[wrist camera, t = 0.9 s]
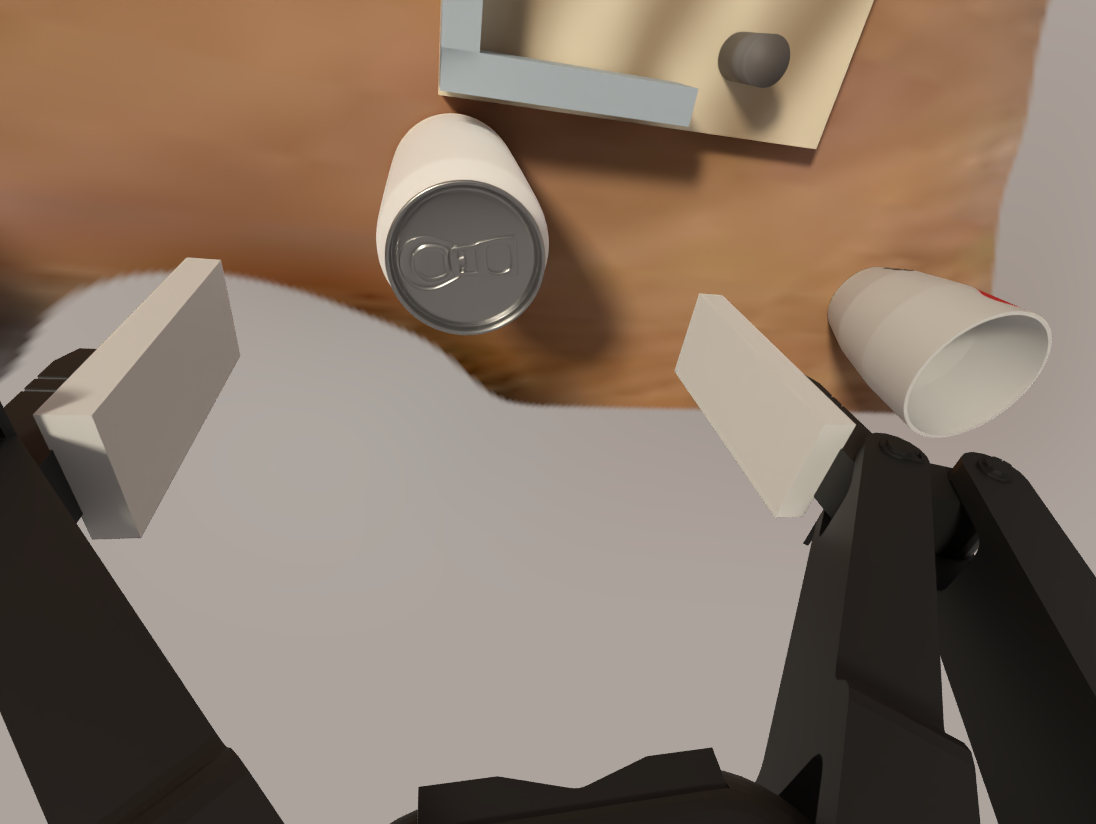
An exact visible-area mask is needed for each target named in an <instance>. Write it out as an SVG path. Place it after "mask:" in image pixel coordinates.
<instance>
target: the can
mask: <svg viewBox="0 0 1096 824" xmlns="http://www.w3.org/2000/svg"><path fill="white" fill-rule="evenodd" d="M376 243H377V252H378V257H379V261H380V265H381V267H382V270H383V273H384V275H385V277H386V279H387V281H388V282H389V284H390V286H391V287H392V289H393V291H394V293H395V295H396V296H397V298H398V299H399V301H400V302H401V303H402V305H403V306H404V307H405V308H406V309H407V310H408V311H409V312H410V313H411V314H412V315H413V316H414V317H416V318H417V319H418V320H420V321H421V322H423V323H425V324H426V325H428V326H430V327H432V328H435V329H437V330H440V331H443V332H447V333H451V334H458V335H476V334H483V333H487V332H491V331H494V330H497V329H499V328H501V327H503V326H505V325H507V324H509V323H510V322H512V321H513V320H515V319H516V318H517V317H519V316H520V315H521V314H522V313H523V312H524V311H525V310H526V309H527V308H528V307H529V305H530V304H531V303H532V301H533V300H534V298H535V296H536V295H537V293H538V291H539V289H540V286H541V283H542V280H543V276H544V271H545V267H546V263H547V259H548V251H549V238H548V230H547V225H546V221H545V217H544V214H543V211H542V209H541V207H540V204H539V202H538V200H537V198H536V196H535V194H534V192H533V191H532V189H531V187H530V185H529V183H528V182H527V180H526V178H525V176H524V174H523V173H522V171H521V169H520V167H519V166H518V164H517V162H516V160H515V159H514V157H513V155H512V154H511V152H510V150H509V149H508V147H507V146H506V144H505V143H504V141H503V140H502V139H501V138H500V136H499V135H498V134H497V133H496V132H495V131H494V130H493V129H491V128H490V127H489V126H487V125H486V124H485V123H483V122H481V121H479V120H477V119H475V118H473V117H470V116H467V115H462V114H455V113H446V114H439V115H435V116H432V117H429V118H427V119H424V120H423V121H421V122H419V123H418V124H416V125H415V126H414V127H413V128H411V129H410V130H409V131H408V132H407V134H406V135H405V136H404V137H403V139H402V140H401V142H400V144H399V145H398V147H397V150H396V152H395V155H394V158H393V161H392V164H391V168H390V171H389V175H388V179H387V183H386V187H385V191H384V195H383V199H382V203H381V207H380V212H379V216H378V222H377V231H376Z"/></svg>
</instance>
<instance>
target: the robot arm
mask: <svg viewBox="0 0 1096 824" xmlns="http://www.w3.org/2000/svg"><path fill="white" fill-rule="evenodd" d="M239 357H240V352H239V347H238V343H237V337H236V332H235V328H234V322H233V317H232V312H231V307H230V303H229V298H228V293H227V287H226V282H225V277H224V272H223V267H222V262H221V260H214V259H200V258H186V259H185V260H184V261H183V262H182V263H181V264H180V265H179V266H178V267H177V268H176V269H175V270H174V271H173V272H172V273H171V274H170V275H169V276H168V277H167V278H166V279H165V280H164V281H163V282H162V283H161V284H160V285H159V286H158V287H157V288H156V289H155V291H154V292H153V293H151V294H150V296H149V297H148V298H147V299H146V300H145V301H144V302H143V303H142V304H141V305H140V306H139V307H138V308H137V309H136V310H135V311H134V312H133V313H132V314H131V315H130V316H129V317H128V318H127V319H126V320H125V321H124V322H123V323H122V324H121V325H120V326H119V327H118V328H117V329H116V330H115V331H114V332H113V333H112V335H110V336H109V338H107V339H106V340H105V342H103V343H102V345H101V346H100V347H99V348H98V349H82V348H80V349H77V350H75V351H73V352H71V353H69V354H67V355H65V356H63V357H61V358H59V359H57V360H55V361H53V362H52V363H51V364H50V365H49V366H48V367H47V368H46V369H45V370H44V371H42V372H41V373H40V374H39V375H38V379H34V380H33V381H32V382H31V383H30V384H28V385H27V386H26V387H25V391H24V392H23V391H21V392H20V393H19V394H18V395H17V396H16V397H15V398H14V399H12V400H11V401H10V402H9V403H8V404H7V405H6V406H5V407H4V408H3V406H2V404H1V402H0V712H1V715H2V717H3V719H4V722H5V724H6V726H7V729H8V731H9V733H10V736H11V738H12V741H13V743H14V745H15V747H16V750H17V752H18V754H19V757H20V759H21V762H22V764H23V766H24V769H25V771H26V773H27V776H28V778H29V780H30V783H31V785H32V787H33V789H34V792H35V794H36V797H37V799H38V801H39V804H40V806H41V809H42V811H43V813H44V816H45V818H46V820H47V822H48V824H284V823H283V821H282V820H281V818H280V817H279V815H278V814H277V812H276V811H275V809H274V808H273V806H272V805H271V803H270V802H269V800H268V799H267V797H266V796H265V794H264V793H263V792H262V790H261V789H260V787H259V785H258V784H257V782H256V781H255V780H254V778H253V777H252V775H251V774H250V772H249V771H248V769H247V768H246V767H245V765H244V764H243V762H242V761H241V759H240V758H239V757H238V756H237V754H236V753H235V752H234V751H233V750H232V749H231V748H228V747H226V746H225V745H224V743H223V742H222V741H221V739H220V738H219V737H218V735H217V734H216V732H215V731H214V729H213V728H212V726H211V725H210V723H209V722H208V720H207V719H206V717H205V716H204V714H203V713H202V711H201V710H200V708H199V707H198V705H197V704H196V702H195V701H194V699H193V698H192V696H191V695H190V693H189V692H188V690H187V689H186V688H185V686H184V684H183V683H182V681H181V680H180V678H179V677H178V675H177V674H176V672H175V671H174V669H173V668H172V666H171V665H170V663H169V662H168V661H167V659H166V657H165V656H164V654H163V653H162V651H161V650H160V648H159V647H158V646H157V644H156V642H155V641H154V639H153V638H152V636H151V635H150V633H149V632H148V630H147V629H146V627H145V626H144V624H143V623H142V621H141V620H140V618H139V617H138V615H137V614H136V613H135V611H134V609H133V608H132V606H131V605H130V603H129V602H128V600H127V599H126V597H125V596H124V594H123V593H122V591H121V590H120V588H119V587H118V585H117V584H116V582H115V581H114V579H113V578H112V576H111V575H110V573H109V572H108V570H107V569H106V567H105V566H104V564H103V563H102V561H101V560H100V558H99V557H98V555H97V554H96V552H95V551H94V549H93V548H92V546H91V545H90V543H89V542H88V540H87V539H86V537H85V536H84V534H83V533H82V531H81V530H80V528H79V527H78V525H77V524H76V523H77V522H78V520H79V519H80V518H81V517H82V519H83V521H84V523H85V525H86V527H87V529H88V532H89V534H90V536H91V538H92V539H117V538H118V539H120V538H141V537H142V535H143V533H144V531H145V530H146V528H147V526H148V524H149V522H150V520H151V519H152V517H153V515H154V513H155V511H156V509H157V507H158V506H159V504H160V502H161V500H162V498H163V496H164V495H165V493H166V491H167V489H168V487H169V485H170V484H171V482H172V480H173V478H174V476H175V475H176V472H177V471H178V469H179V467H180V465H181V464H182V462H183V460H184V458H185V456H186V454H187V452H188V451H189V449H190V447H191V445H192V443H193V442H194V440H195V438H196V436H197V434H198V432H199V431H200V429H201V427H202V425H203V423H204V421H205V419H206V418H207V415H208V414H209V412H210V410H211V408H212V406H213V404H214V403H215V401H216V399H217V397H218V396H219V394H220V392H221V390H222V388H223V386H224V385H225V383H226V381H227V379H228V377H229V375H230V374H231V372H232V370H233V368H234V366H235V364H236V363H237V361H238V359H239ZM675 372H676V374H677V375H678V377H679V378H680V380H681V381H682V383H683V384H684V386H685V387H686V389H687V390H688V391H689V393H690V394H691V396H692V397H693V399H694V400H695V402H696V403H697V405H698V406H699V408H700V409H701V410H702V412H703V413H704V415H705V416H706V418H707V419H708V421H709V422H710V424H711V425H712V427H713V428H714V429H715V431H716V432H717V433H718V435H719V437H720V438H721V440H722V441H723V443H724V444H725V446H726V447H727V449H728V450H729V451H730V453H731V454H732V456H733V457H734V459H735V460H736V462H737V463H738V464H739V466H740V468H741V469H742V470H743V472H744V473H745V475H746V476H747V478H748V479H749V480H750V482H751V484H752V485H753V487H754V488H755V489H756V491H757V492H758V494H759V495H760V497H761V498H762V500H763V501H764V503H765V504H766V506H767V507H768V508H769V510H770V511H771V512H772V514H773V516H774V517H775V518H782V517H783V518H784V517H785V518H786V517H803V516H804V515H805V513H806V511H807V509H808V508H809V506H810V504H811V502H812V501H813V499H814V498H815V499H816V500H817V501H818V503H819V504H820V505H821V506H822V508H823V511H822V513H821V514H820V516H819V518H818V520H817V521H816V523H815V525H814V526H813V528H812V530H811V531H810V533H809V535H808V536H807V538H806V540H805V541H804V544H806V545H809V544H810V542H811V541H812V544H811V548H810V553H809V557H808V562H807V567H806V571H805V575H804V580H803V584H802V589H801V593H800V598H799V602H798V607H797V612H796V616H795V620H794V625H793V630H792V634H791V639H790V643H789V648H788V652H787V657H786V661H785V666H784V670H783V675H782V679H781V684H780V688H779V693H778V697H777V702H776V706H775V711H774V715H773V721H772V725H771V729H770V733H769V738H768V743H767V747H766V752H765V756H764V760H763V764H762V767H761V770H760V773H759V776H758V778H757V780H756V782H753V781H750V780H748V779H746V778H743V777H742V776H738V775H735V774H732V773H729V772H726V771H721V770H720V767H719V764H718V762H717V759H716V757H715V754H714V751H713V749H712V748H705V749H698V750H691V751H683V752H676V753H668V754H661V755H653V756H647V757H644V758H642V759H641V760H638V761H636V762H634V763H632V764H630V765H628V766H626V767H624V768H622V769H620V770H618V771H616V772H614V773H612V774H610V775H608V776H606V777H604V778H602V779H600V780H597V781H596V782H593V783H591V784H589V785H587V786H585V787H582V788H566V787H560V786H554V785H548V784H541V783H535V782H529V781H523V780H516V779H510V778H504V777H489V778H482V779H475V780H467V781H460V782H453V783H446V784H437V785H430V786H423V787H419V791H418V792H419V793H418V810H415V811H413V812H411V813H409V814H407V815H405V816H403V817H401V818H398V819H397V820H395V821H394V822H392V823H390V824H980V815H979V805H978V795H977V784H976V773H975V766H974V761H973V757H972V753H971V751H970V750H969V749H968V747H967V746H966V745H965V743H963V742H961V741H960V740H958V739H956V738H954V737H952V736H950V735H948V734H946V733H945V731H944V723H943V722H944V721H943V702H942V683H941V664H940V656H941V659H942V662H943V665H944V668H945V670H946V673H947V676H948V679H949V682H950V685H951V688H952V691H953V693H954V697H955V699H956V702H957V705H958V708H959V711H960V714H961V717H962V719H963V723H964V726H965V728H966V731H967V734H968V737H969V740H970V743H971V746H972V749H973V752H974V755H975V757H976V760H977V763H978V766H979V769H980V772H981V775H982V778H983V781H984V784H985V786H986V789H987V792H988V795H989V798H990V801H991V804H992V807H993V809H994V813H995V815H996V818H997V821H998V824H1096V577H1095V575H1094V574H1093V573H1092V571H1091V570H1090V568H1089V567H1088V565H1087V564H1086V563H1085V561H1084V560H1083V558H1082V557H1081V555H1080V554H1079V553H1078V551H1077V550H1076V548H1075V547H1074V545H1073V544H1072V543H1071V541H1070V540H1069V538H1068V537H1067V535H1066V534H1065V533H1064V531H1063V530H1062V528H1061V527H1060V525H1059V524H1058V523H1057V521H1056V520H1055V518H1054V517H1053V515H1052V514H1051V513H1050V511H1049V510H1048V508H1047V507H1046V505H1045V504H1044V503H1043V501H1042V500H1041V498H1040V497H1039V496H1038V494H1037V493H1036V491H1035V490H1034V489H1033V487H1032V486H1031V484H1030V483H1029V481H1028V480H1027V479H1026V478H1025V477H1024V476H1023V475H1022V474H1021V473H1020V472H1019V471H1017V470H1016V469H1015V468H1013V467H1012V465H1011V464H1009V463H1007V462H1005V461H1002V459H999V458H997V457H991V456H988V455H985V454H981V453H975V452H969V453H965V454H963V456H962V457H961V458H960V459H959V461H958V462H957V463H956V465H955V466H954V467H953V468H949V467H944V466H940V465H935V464H930V463H929V460H928V458H927V456H926V455H925V454H924V453H923V452H922V451H921V450H920V449H918V448H917V447H915V446H914V445H912V444H911V443H910V442H907V441H905V440H903V439H901V438H899V437H896V436H892V435H889V434H883V433H873V434H872V433H871V432H870V431H869V430H868V429H867V428H866V427H865V426H864V425H863V424H862V423H860V422H859V421H858V420H857V419H856V418H855V417H854V416H853V415H852V414H851V413H850V412H849V411H848V410H847V409H846V408H845V407H841V403H840V402H839V401H837V400H836V399H835V398H834V397H831V394H830V393H829V392H828V391H827V390H826V389H825V388H824V387H823V386H822V385H821V384H820V383H818V382H816V381H815V380H813V379H811V378H810V377H808V376H806V375H805V374H803V373H802V372H801V371H800V370H799V369H798V368H797V367H796V366H795V365H794V364H793V363H792V362H791V361H790V360H789V359H788V358H787V357H786V356H784V355H783V354H782V353H781V352H780V351H779V350H778V349H777V348H776V347H775V346H774V345H773V344H772V343H771V342H770V341H769V340H768V339H767V338H766V337H765V336H764V335H763V334H762V333H761V332H760V331H759V330H758V329H757V328H756V327H754V326H753V325H752V324H751V323H750V322H749V321H748V320H747V319H746V318H745V317H744V316H743V315H742V314H741V313H740V312H739V311H738V310H737V309H736V308H735V307H734V306H733V305H732V304H731V303H730V302H729V301H728V300H727V299H726V298H724V297H723V296H722V295H713V294H699V296H698V299H697V302H696V305H695V309H694V312H693V315H692V318H691V321H690V324H689V327H688V331H687V334H686V337H685V340H684V343H683V346H682V349H681V352H680V356H679V359H678V362H677V365H676V368H675ZM977 549H978V551H977V553H976V555H974V553H975V551H976V550H977Z"/></svg>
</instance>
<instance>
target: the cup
mask: <svg viewBox="0 0 1096 824" xmlns="http://www.w3.org/2000/svg"><path fill="white" fill-rule="evenodd" d="M828 322H829V324H830V326H831V328H832V331H833V333H834V335H835V337H836V339H837V341H838V343H839V346H840V348H841V350H842V351H843V353H844V354H845V355H846V357H847V358H848V359H849V361H850V362H851V363H852V365H853V366H854V367H855V369H856V370H857V371H858V373H859V374H860V375H861V377H862V378H863V379H864V381H865V382H866V383H867V385H868V386H869V387H870V388H871V389H872V390H873V391H874V392H875V393H876V394H877V395H878V396H879V397H880V398H881V399H882V400H883V401H884V402H885V403H886V404H887V405H888V406H889V407H890V408H891V409H892V410H893V411H894V412H895V413H896V414H897V415H898V416H899V417H900V418H901V419H902V420H903V421H904V422H905V423H906V424H907V425H908V426H909V427H910V428H911V429H912V430H913V431H915V432H916V433H918V434H920V435H922V436H926V437H934V438H938V437H948V436H954V435H958V434H961V433H964V432H967V431H969V430H972V429H974V428H976V427H979V426H981V425H983V424H984V423H986V422H988V421H990V420H992V419H993V418H995V417H996V416H998V415H999V414H1000V413H1002V412H1003V411H1005V410H1006V409H1007V408H1009V407H1010V406H1011V405H1012V404H1013V403H1015V402H1016V401H1017V400H1018V399H1019V398H1020V397H1021V396H1022V395H1023V394H1024V393H1025V392H1026V391H1027V390H1028V389H1029V388H1030V386H1031V385H1032V383H1034V381H1035V380H1036V379H1037V377H1038V376H1039V374H1040V373H1041V371H1042V369H1043V368H1044V366H1045V364H1046V362H1047V359H1048V357H1049V354H1050V350H1051V344H1052V334H1051V329H1050V327H1049V325H1048V323H1047V322H1046V321H1045V320H1044V319H1043V318H1042V317H1040V316H1038V315H1037V314H1034V313H1032V312H1030V311H1027V310H1025V309H1022V308H1020V307H1018V306H1015V305H1013V304H1010V303H1008V302H1006V301H1004V300H1001V299H999V298H996V297H994V296H992V295H989V294H987V293H985V292H982V291H980V290H978V289H975V288H973V287H971V286H968V285H965V284H961V283H958V282H954V281H951V280H947V279H943V278H940V277H936V276H933V275H929V274H926V273H922V272H919V271H914V270H905V269H895V268H886V267H871V268H867V269H864V270H862V271H860V272H858V273H856V274H854V275H853V276H851V277H850V278H848V279H847V280H846V281H845V282H844V283H843V284H842V285H841V286H840V287H839V288H838V290H837V291H836V292H835V294H834V296H833V297H832V299H831V302H830V304H829V308H828Z"/></svg>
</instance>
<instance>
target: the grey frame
mask: <svg viewBox="0 0 1096 824" xmlns="http://www.w3.org/2000/svg"><path fill="white" fill-rule="evenodd" d="M482 8H483V0H441V30H440V66H439V87H440V91H446V92H453V93H460V94H467V95H474V96H481V97H487V98H494V99H501V100H508V101H515V102H522V103H528V104H535V105H542V106H549V107H556V108H563V109H570V110H576V111H583V112H590V113H597V114H604V115H611V116H617V117H624V118H631V119H638V120H645V121H652V122H659V123H665V124H672V125H679V126H686V127H689V124H690V120H691V116H692V113H693V109H694V105H695V101H696V97H697V93H698V90H699V89H698V88H694V87H691V86H687V85H684V84H681V83H677V82H673V81H667V80H661V79H655V78H649V77H643V76H637V75H631V74H625V73H618V72H612V71H606V70H600V69H594V68H588V67H582V66H576V65H570V64H564V63H558V62H552V61H546V60H540V59H534V58H528V57H521V56H515V55H509V54H503V53H497V52H491V51H485V50H480V40H481V24H482Z"/></svg>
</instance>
